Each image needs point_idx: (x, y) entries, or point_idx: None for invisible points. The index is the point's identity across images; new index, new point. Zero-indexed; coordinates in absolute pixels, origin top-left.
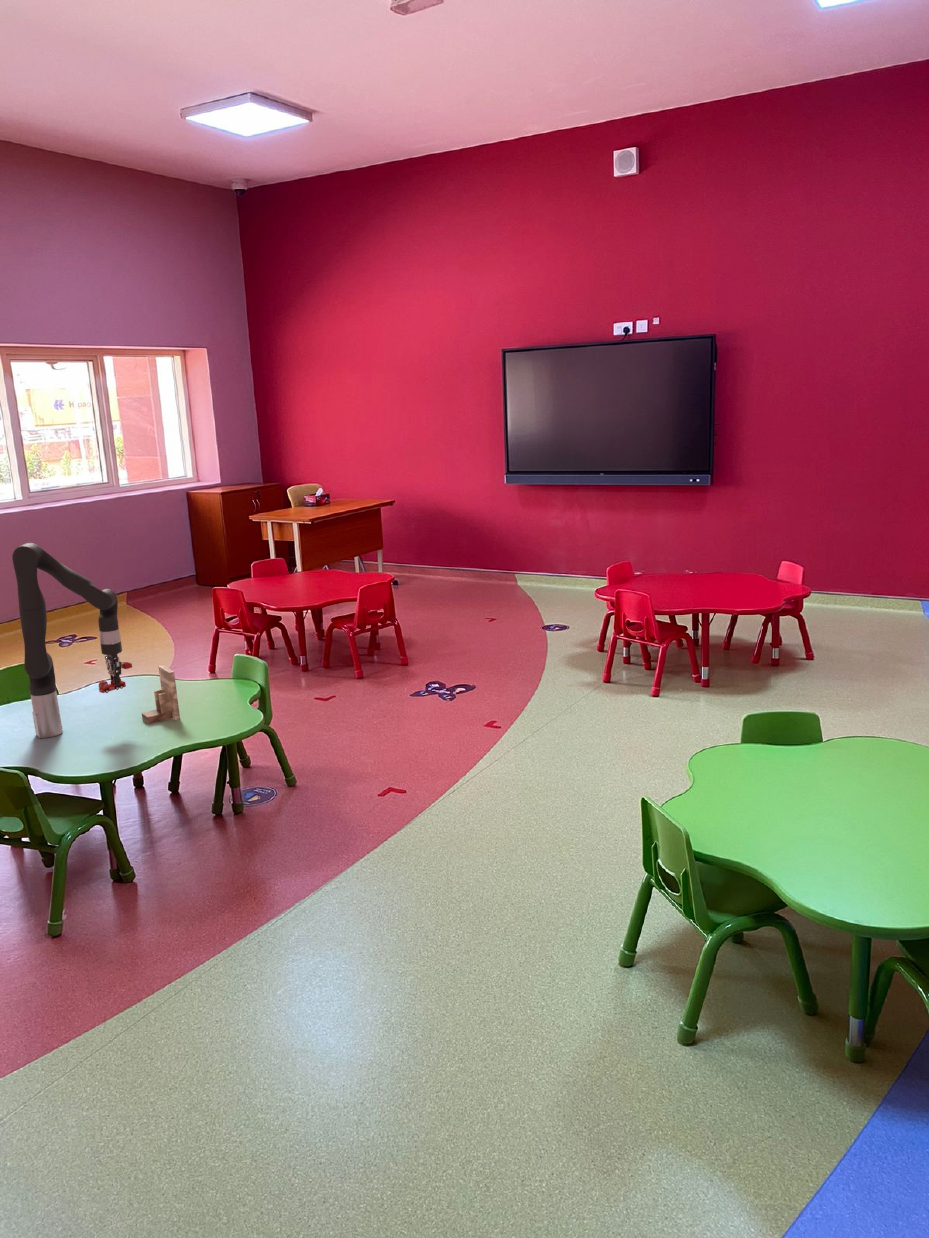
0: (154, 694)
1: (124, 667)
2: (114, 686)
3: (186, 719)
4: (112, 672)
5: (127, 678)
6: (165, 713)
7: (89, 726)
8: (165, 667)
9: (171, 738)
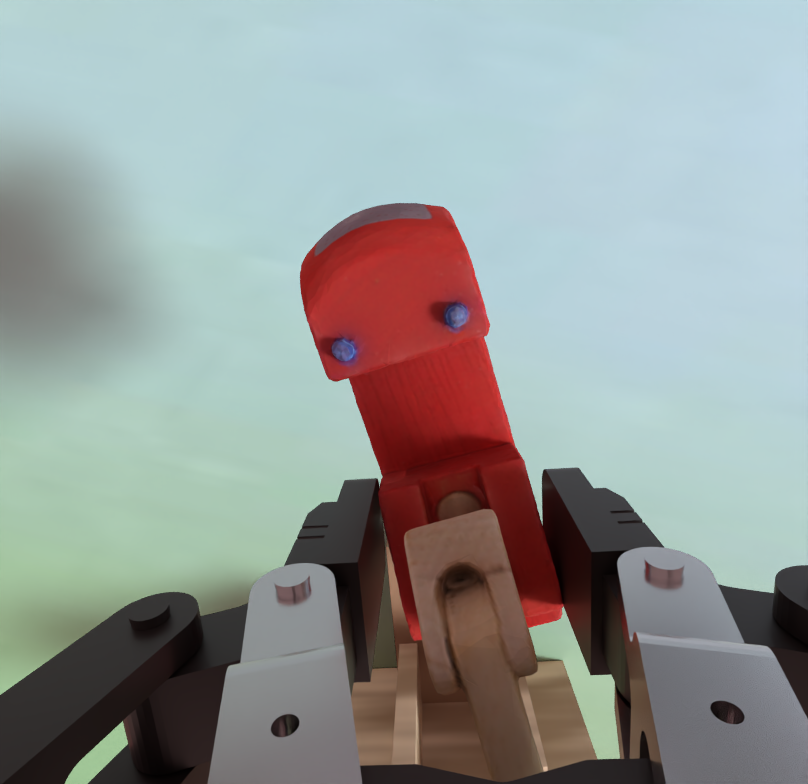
0: (538, 735)
1: None
2: (380, 462)
3: None
4: (339, 616)
5: None
6: (397, 661)
7: (646, 162)
8: None
9: (40, 567)
